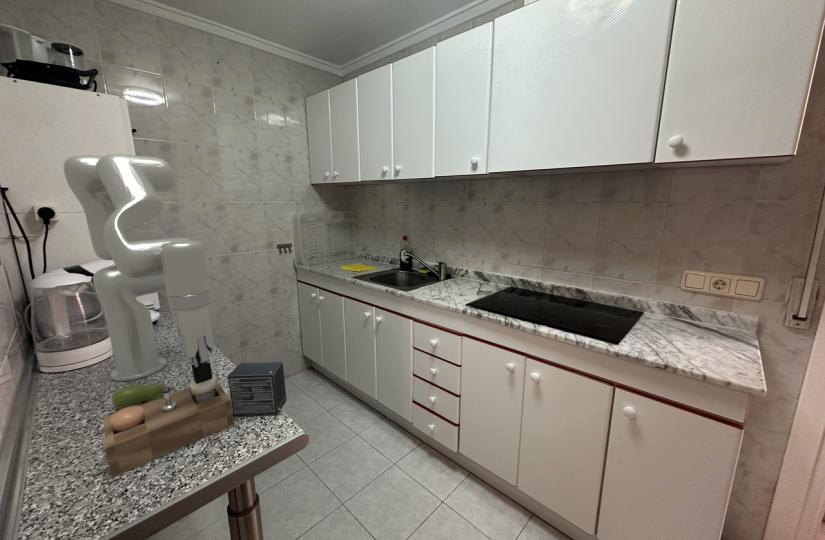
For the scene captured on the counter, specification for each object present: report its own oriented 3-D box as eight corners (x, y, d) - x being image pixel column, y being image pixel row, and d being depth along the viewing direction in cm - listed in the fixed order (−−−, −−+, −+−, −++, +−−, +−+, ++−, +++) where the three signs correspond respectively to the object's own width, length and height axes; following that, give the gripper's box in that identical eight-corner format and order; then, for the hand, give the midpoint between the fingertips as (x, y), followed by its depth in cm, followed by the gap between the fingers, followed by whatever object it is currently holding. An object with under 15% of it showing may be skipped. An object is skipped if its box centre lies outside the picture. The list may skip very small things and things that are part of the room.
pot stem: (161, 408, 67) (157, 388, 66) (175, 403, 69) (172, 384, 68) (163, 413, 66) (159, 393, 65) (177, 408, 67) (174, 388, 66)
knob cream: (192, 409, 73) (187, 379, 71) (216, 400, 76) (212, 371, 74) (197, 419, 69) (192, 388, 68) (222, 409, 73) (218, 379, 71)
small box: (288, 399, 80) (284, 360, 78) (278, 416, 74) (274, 374, 72) (245, 400, 80) (240, 361, 78) (231, 417, 74) (225, 375, 72)
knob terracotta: (117, 446, 64) (109, 413, 63) (147, 434, 67) (141, 402, 66) (118, 459, 61) (110, 425, 59) (150, 446, 64) (143, 413, 62)
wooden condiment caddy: (109, 442, 66) (103, 417, 65) (219, 401, 80) (215, 379, 78) (112, 477, 58) (105, 448, 56) (234, 424, 71) (230, 400, 70)
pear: (111, 385, 77) (163, 375, 84) (110, 407, 77) (162, 395, 85) (114, 394, 73) (168, 383, 81) (113, 416, 74) (167, 403, 81)
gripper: (163, 297, 70) (176, 374, 74) (175, 312, 59) (190, 401, 63) (203, 290, 75) (213, 362, 79) (220, 303, 65) (232, 386, 68)
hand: (203, 379), depth 71 cm, fingers closed
